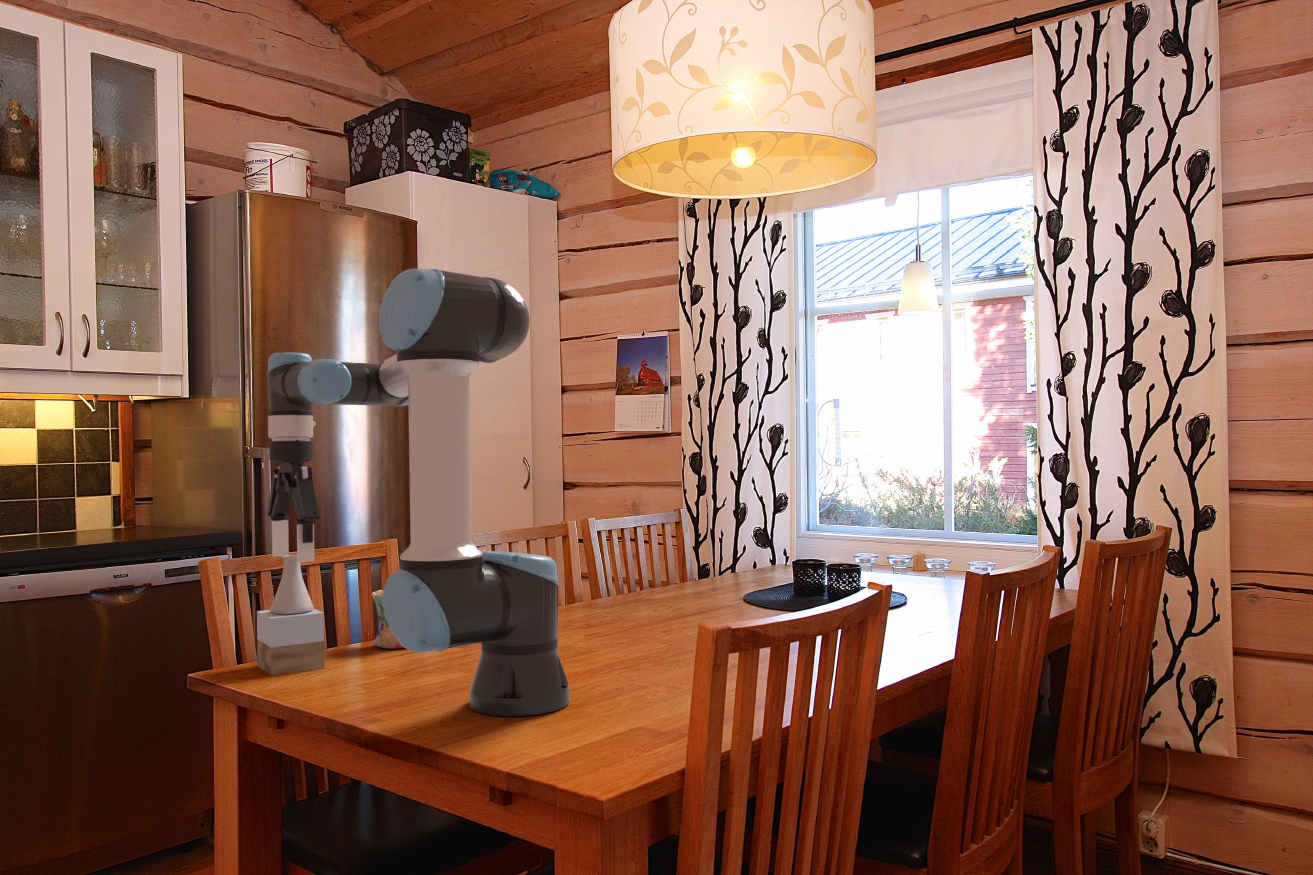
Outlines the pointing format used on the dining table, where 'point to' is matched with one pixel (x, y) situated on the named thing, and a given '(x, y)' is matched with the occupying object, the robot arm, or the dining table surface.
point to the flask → (291, 590)
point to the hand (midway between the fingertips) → (292, 559)
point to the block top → (290, 628)
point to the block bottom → (291, 657)
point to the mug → (384, 625)
